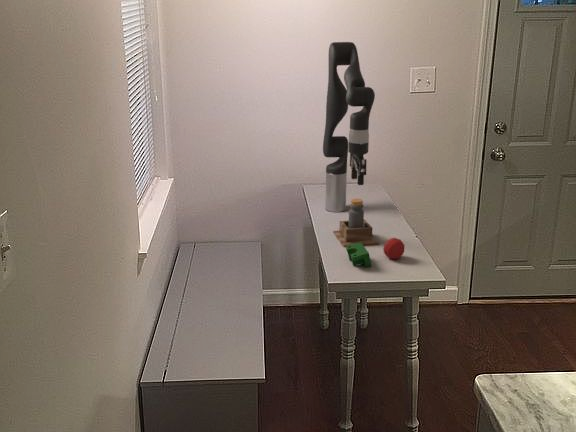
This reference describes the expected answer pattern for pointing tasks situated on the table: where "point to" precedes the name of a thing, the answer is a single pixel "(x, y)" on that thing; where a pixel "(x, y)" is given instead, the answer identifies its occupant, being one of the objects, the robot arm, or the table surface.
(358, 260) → the clamp
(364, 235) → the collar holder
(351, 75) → the robot arm
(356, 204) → the bottle
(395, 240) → the tomato
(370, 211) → the table surface
